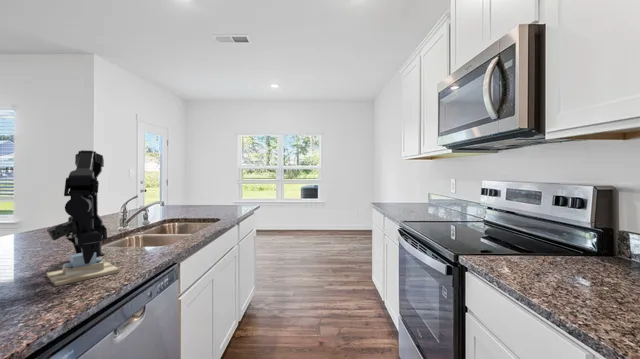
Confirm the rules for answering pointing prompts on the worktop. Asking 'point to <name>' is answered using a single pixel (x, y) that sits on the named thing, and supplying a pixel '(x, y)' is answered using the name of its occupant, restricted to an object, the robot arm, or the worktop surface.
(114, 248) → the worktop surface
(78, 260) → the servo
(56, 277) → the chassis pocket
